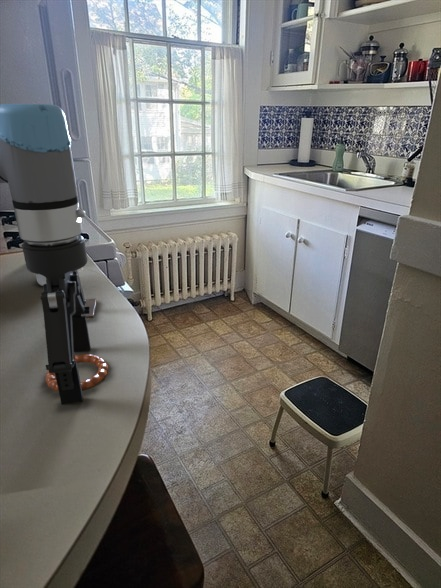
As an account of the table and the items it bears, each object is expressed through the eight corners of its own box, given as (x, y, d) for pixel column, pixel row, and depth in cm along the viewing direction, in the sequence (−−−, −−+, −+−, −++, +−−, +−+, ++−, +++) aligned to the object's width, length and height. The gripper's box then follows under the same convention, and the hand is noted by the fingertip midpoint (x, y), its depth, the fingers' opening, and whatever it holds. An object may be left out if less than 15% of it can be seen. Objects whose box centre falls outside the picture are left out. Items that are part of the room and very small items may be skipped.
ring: (52, 363, 62) (50, 356, 62) (109, 357, 64) (108, 350, 63) (41, 399, 54) (39, 391, 54) (106, 391, 56) (105, 383, 55)
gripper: (72, 268, 40) (98, 429, 49) (91, 214, 62) (107, 332, 71) (-8, 274, 38) (34, 439, 47) (40, 216, 60) (63, 337, 69)
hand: (78, 375), depth 59 cm, fingers open, 12 cm apart
